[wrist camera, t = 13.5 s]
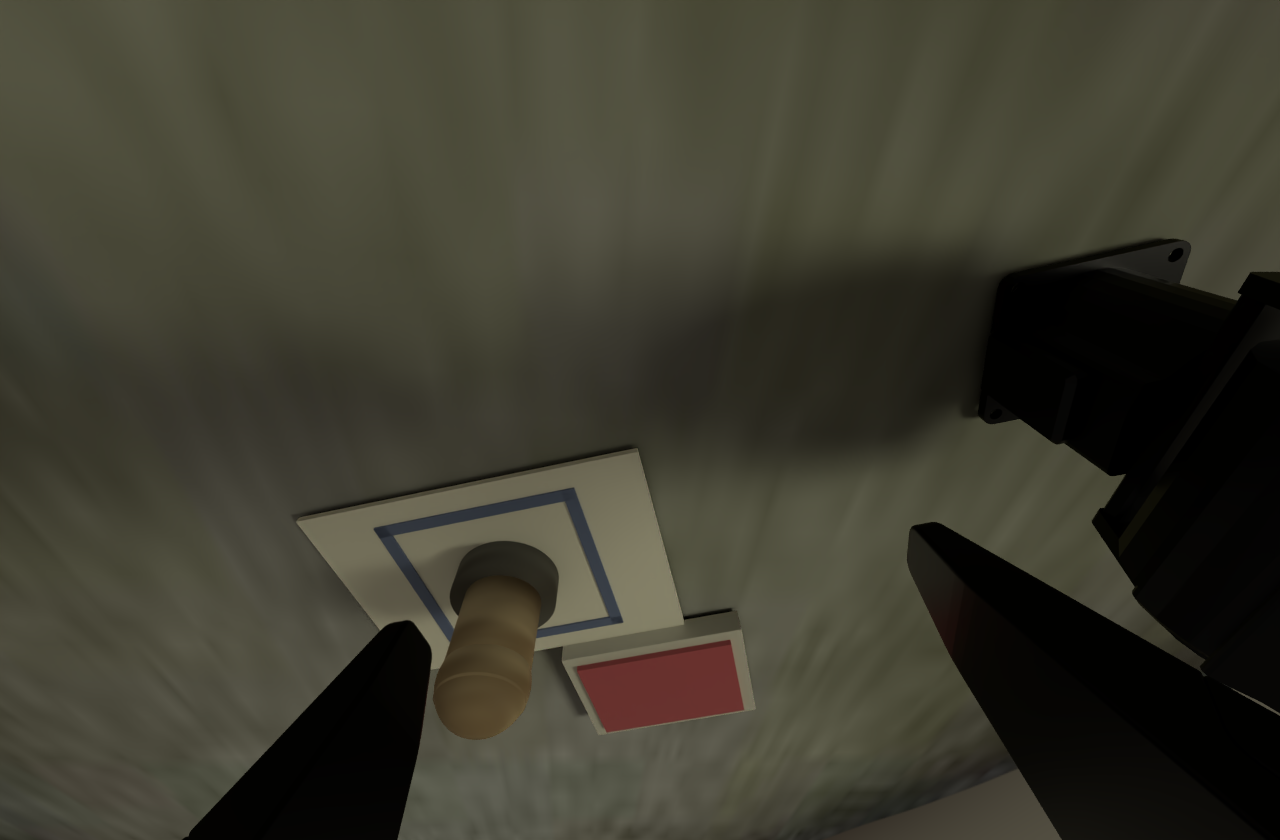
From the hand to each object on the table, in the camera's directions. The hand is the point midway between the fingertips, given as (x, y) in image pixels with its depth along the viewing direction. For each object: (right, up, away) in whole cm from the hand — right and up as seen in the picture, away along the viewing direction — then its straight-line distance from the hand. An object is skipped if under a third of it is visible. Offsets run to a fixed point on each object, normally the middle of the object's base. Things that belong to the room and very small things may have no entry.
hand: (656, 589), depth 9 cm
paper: (-7, -5, +17) cm, 19 cm away
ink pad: (+1, -12, +21) cm, 24 cm away
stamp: (-7, -5, +16) cm, 18 cm away
